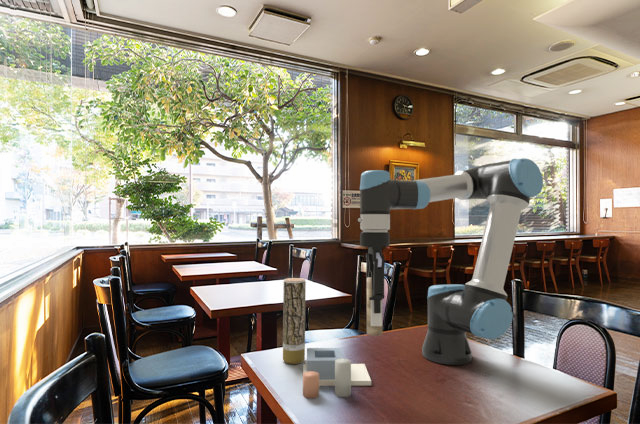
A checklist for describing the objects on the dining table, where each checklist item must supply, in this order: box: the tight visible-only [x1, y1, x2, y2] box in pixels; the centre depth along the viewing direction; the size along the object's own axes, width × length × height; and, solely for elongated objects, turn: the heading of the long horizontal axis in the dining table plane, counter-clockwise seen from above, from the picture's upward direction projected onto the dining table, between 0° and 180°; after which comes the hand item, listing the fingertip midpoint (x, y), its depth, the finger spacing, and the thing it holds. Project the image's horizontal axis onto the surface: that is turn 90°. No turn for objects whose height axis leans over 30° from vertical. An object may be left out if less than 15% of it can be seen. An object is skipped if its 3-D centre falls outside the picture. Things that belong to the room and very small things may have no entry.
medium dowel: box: [334, 357, 352, 398], centre depth 95 cm, size 4×4×8 cm
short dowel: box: [302, 371, 320, 399], centre depth 94 cm, size 4×4×5 cm
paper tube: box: [282, 277, 307, 365], centre depth 117 cm, size 7×7×25 cm
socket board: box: [302, 347, 372, 387], centre depth 105 cm, size 18×12×6 cm, turn 92°
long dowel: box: [366, 277, 384, 337], centre depth 96 cm, size 4×4×14 cm
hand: (374, 323), depth 96 cm, fingers closed on long dowel, 4 cm apart
